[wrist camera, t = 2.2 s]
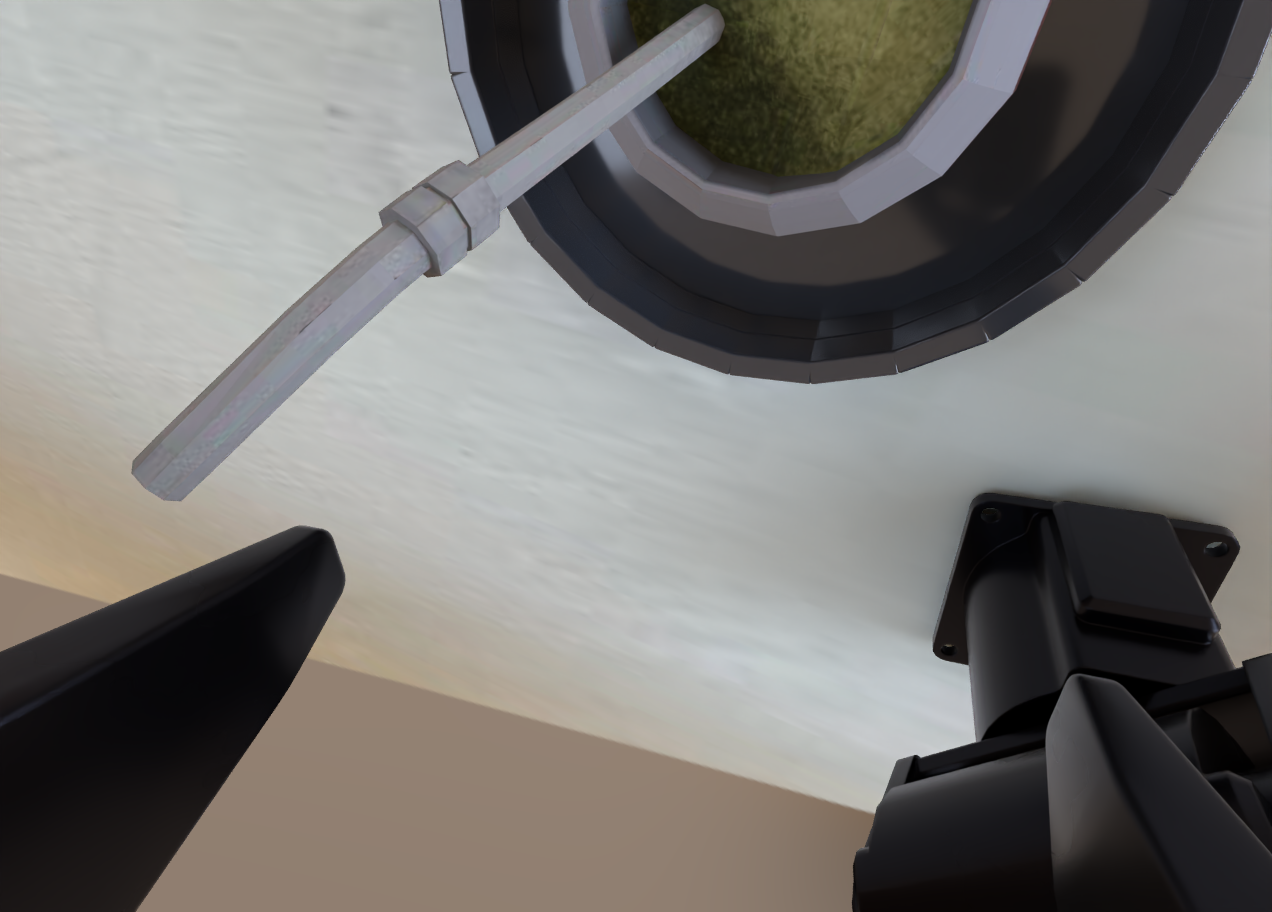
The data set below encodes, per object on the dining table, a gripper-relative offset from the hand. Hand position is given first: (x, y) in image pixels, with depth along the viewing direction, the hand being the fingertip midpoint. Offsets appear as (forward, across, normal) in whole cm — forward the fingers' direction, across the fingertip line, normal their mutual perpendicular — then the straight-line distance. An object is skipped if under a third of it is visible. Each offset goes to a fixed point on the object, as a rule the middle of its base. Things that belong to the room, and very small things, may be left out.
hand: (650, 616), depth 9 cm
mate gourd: (+13, 0, -6) cm, 14 cm away
